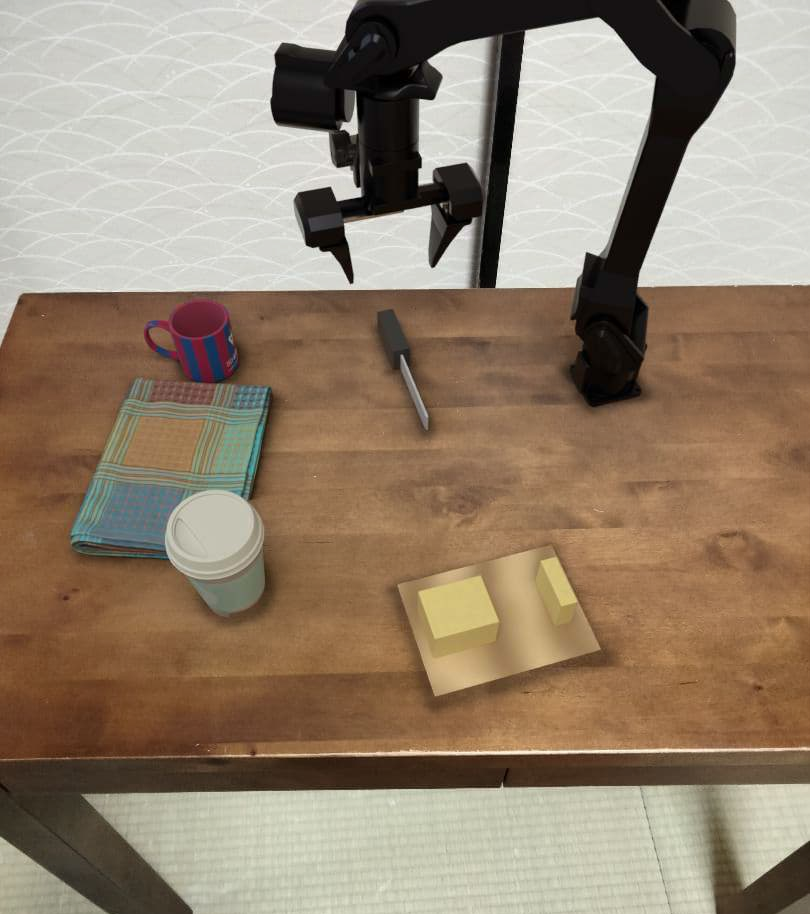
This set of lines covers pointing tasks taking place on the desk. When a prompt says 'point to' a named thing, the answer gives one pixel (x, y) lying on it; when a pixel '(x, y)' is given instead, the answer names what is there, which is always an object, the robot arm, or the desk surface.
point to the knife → (399, 355)
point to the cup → (199, 340)
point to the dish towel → (169, 461)
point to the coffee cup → (219, 549)
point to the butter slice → (555, 591)
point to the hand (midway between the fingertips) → (391, 273)
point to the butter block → (457, 616)
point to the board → (502, 624)
